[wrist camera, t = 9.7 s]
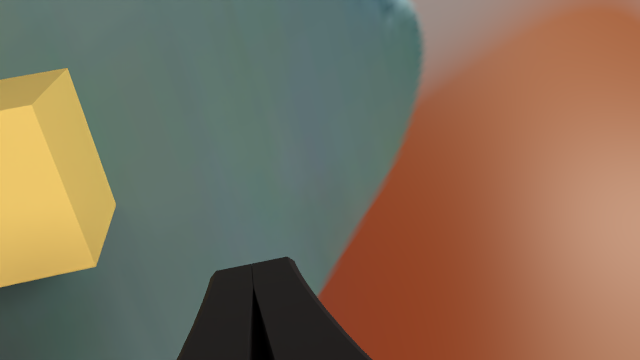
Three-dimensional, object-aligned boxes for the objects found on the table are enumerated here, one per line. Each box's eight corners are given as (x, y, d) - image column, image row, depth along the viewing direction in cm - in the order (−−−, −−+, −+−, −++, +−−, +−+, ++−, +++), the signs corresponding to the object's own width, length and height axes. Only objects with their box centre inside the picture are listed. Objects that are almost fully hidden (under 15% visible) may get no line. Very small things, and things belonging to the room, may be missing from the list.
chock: (116, 203, 19) (95, 266, 16) (1, 227, 19) (-47, 297, 15) (67, 67, 17) (31, 105, 14) (-65, 90, 17) (-138, 136, 13)
